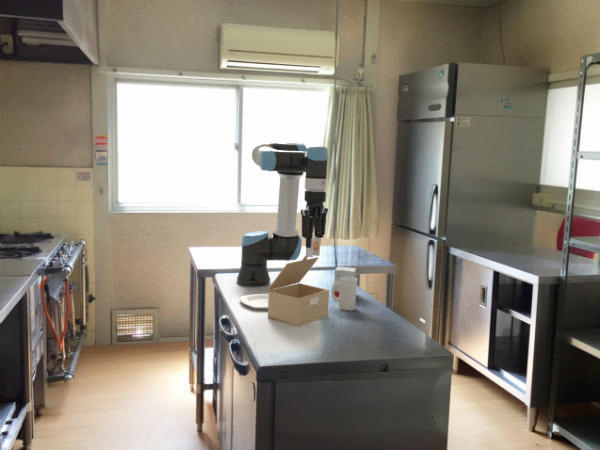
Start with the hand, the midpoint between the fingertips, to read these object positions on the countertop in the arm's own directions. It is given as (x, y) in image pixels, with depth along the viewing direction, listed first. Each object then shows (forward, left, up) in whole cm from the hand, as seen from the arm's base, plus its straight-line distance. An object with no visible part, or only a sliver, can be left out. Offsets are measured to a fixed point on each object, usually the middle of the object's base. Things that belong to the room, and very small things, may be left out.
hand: (312, 255), depth 203 cm
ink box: (-11, +39, -24) cm, 47 cm away
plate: (-25, +4, -24) cm, 35 cm away
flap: (-4, 0, -5) cm, 7 cm away
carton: (-5, 0, -24) cm, 24 cm away
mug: (0, +22, -24) cm, 33 cm away
